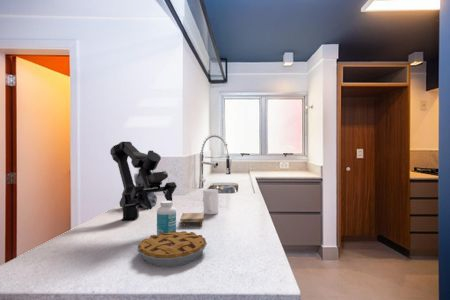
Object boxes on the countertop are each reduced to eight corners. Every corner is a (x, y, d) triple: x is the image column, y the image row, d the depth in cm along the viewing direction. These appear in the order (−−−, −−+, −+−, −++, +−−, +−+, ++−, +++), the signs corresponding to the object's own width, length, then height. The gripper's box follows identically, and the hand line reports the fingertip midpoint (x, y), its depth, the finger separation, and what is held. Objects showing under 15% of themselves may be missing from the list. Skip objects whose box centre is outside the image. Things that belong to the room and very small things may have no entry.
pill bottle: (171, 239, 98) (171, 204, 97) (153, 238, 99) (153, 203, 99) (179, 233, 105) (178, 200, 105) (162, 232, 106) (161, 199, 106)
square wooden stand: (180, 227, 113) (180, 219, 113) (182, 220, 123) (182, 213, 123) (203, 226, 114) (203, 218, 114) (203, 220, 124) (203, 212, 124)
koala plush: (122, 208, 149) (121, 174, 149) (139, 201, 166) (138, 171, 166) (149, 209, 145) (149, 174, 145) (163, 202, 163) (163, 171, 162)
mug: (201, 216, 130) (201, 192, 130) (203, 210, 142) (203, 188, 142) (217, 216, 130) (217, 192, 130) (218, 210, 142) (218, 188, 142)
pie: (177, 237, 101) (177, 224, 101) (219, 251, 87) (219, 237, 87) (124, 256, 84) (124, 240, 84) (167, 277, 70) (167, 259, 70)
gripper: (133, 166, 102) (146, 197, 94) (174, 163, 115) (189, 191, 107) (125, 184, 108) (137, 215, 100) (165, 180, 120) (178, 207, 112)
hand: (161, 206), depth 104 cm, fingers open, 9 cm apart
